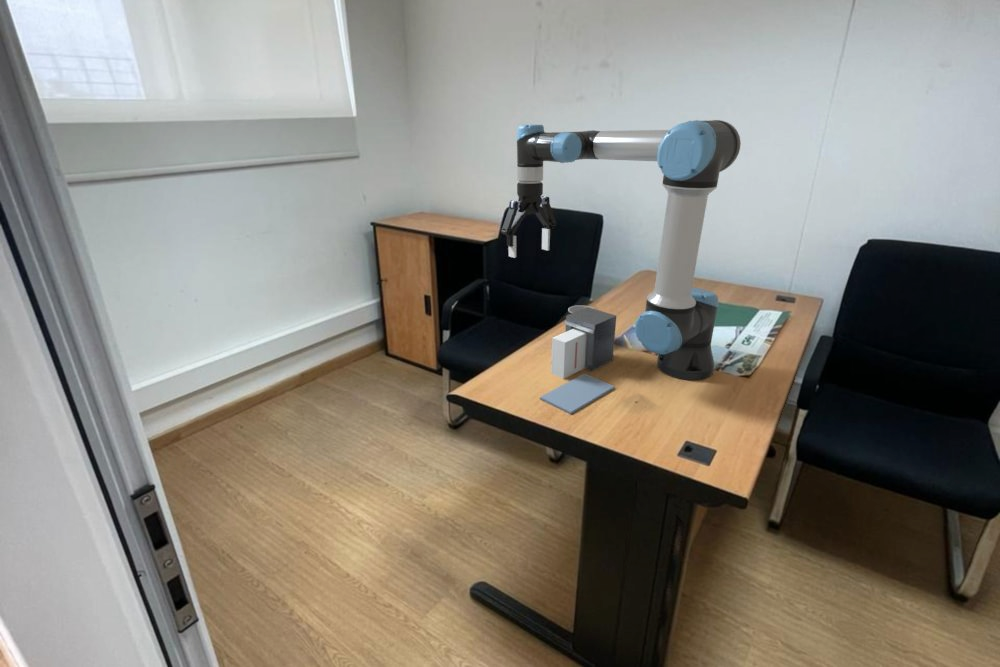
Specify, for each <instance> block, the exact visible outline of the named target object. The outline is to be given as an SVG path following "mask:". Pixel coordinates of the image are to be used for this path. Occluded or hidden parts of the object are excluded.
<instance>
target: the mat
mask: <svg viewBox="0 0 1000 667" xmlns="http://www.w3.org/2000/svg"><path fill="white" fill-rule="evenodd" d="M614 389H615V386H614V385H613V384H610V383H608V382H605V381H603V380H600V379H598V378H596V377H593V376H590V375H588V374H586V373H582V374H581V375H579V376H577V377H575V378H572V379H571V380H570V381H568V382H566V383H564V384H562V385H560V386H558V387H556V388H554V389H552V390H550V391H548V392H547V393H545V394H543V395H541V396H539V400H541V401H543V402H545V403H547V404H549V405H551V406H553V407H555V408H557V409H559V410H561V411H564V412H566V413H567V414H569V415H572V414H573V413H575V412H577V411H579V410H580V409H582V408H584V407H586V406H587V405H590V403H592V402H594V401H596V400H597V399H599V398H601V397H602V396H604V395H606V394H607V393H609V392H610V391H611V392H612V390H614Z"/></svg>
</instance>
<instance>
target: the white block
mask: <svg viewBox="0 0 1000 667" xmlns="http://www.w3.org/2000/svg"><path fill="white" fill-rule="evenodd" d="M587 346H588V332H586V331H583V330H580V329H577V328H574V329H571V330H569V331H567V332H565V331H564V332H563V333H559V334H558V335H556V336H554V337H551V361H550V364H551V366H550V374H551V375H553V376H555V377H558V378H560V379H562V380H564V379H566V378H568V377H570V376H572V375H575V374H576V373H578V372H579V371H582V370H584V369H586V362H587Z"/></svg>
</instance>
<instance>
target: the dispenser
mask: <svg viewBox="0 0 1000 667" xmlns="http://www.w3.org/2000/svg"><path fill="white" fill-rule="evenodd" d="M593 308H594V307H592V308H589V307H587V308H584V309H582V310H579V311H577V312H574V313H572V314H569V315H568V314H567V315H565V320H564V325H565V331H564V332H567V331H569V330H571V329H574V328H577V329H580V330H583V331H586V332H588V346H587V362H586V368H585V370H588V371H590V372H593V371H596V370H597V369H599V368H601V367H602V366H604V365H606V364H608V363H610V362H612V361H613V359H614V349H615V348H614V347H615V339H616V338H615V336H616V326H617V324H616V323H617V315H615V314H612V313H609V312H606V311H602V310H599V309H596V308H594V309H593Z"/></svg>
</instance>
